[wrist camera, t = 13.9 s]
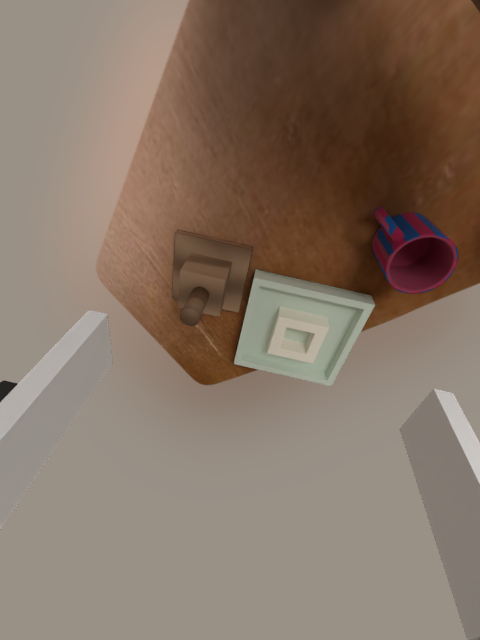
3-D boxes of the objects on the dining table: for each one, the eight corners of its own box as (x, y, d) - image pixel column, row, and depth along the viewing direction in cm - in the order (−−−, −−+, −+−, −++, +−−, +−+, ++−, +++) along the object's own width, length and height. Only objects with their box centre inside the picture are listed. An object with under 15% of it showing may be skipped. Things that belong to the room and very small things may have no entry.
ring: (268, 342, 48) (267, 353, 46) (279, 306, 44) (279, 316, 42) (312, 352, 48) (312, 363, 46) (327, 317, 44) (329, 327, 42)
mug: (387, 275, 40) (402, 304, 34) (348, 213, 36) (358, 234, 30) (442, 246, 37) (468, 272, 31) (406, 174, 33) (428, 190, 27)
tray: (255, 269, 42) (254, 277, 40) (371, 295, 42) (375, 305, 40) (235, 353, 51) (233, 363, 49) (329, 375, 51) (331, 386, 49)
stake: (177, 229, 40) (145, 267, 31) (253, 247, 40) (241, 289, 31) (174, 294, 46) (145, 341, 37) (239, 309, 46) (226, 359, 37)
